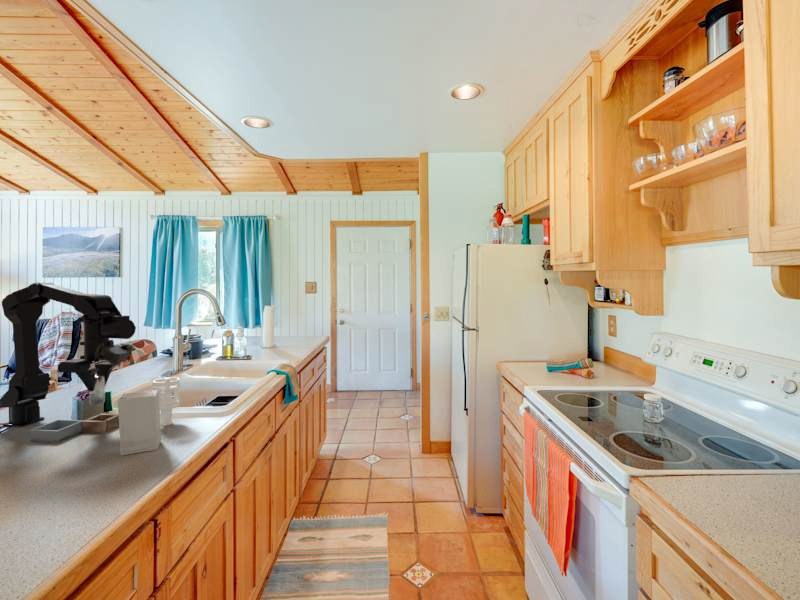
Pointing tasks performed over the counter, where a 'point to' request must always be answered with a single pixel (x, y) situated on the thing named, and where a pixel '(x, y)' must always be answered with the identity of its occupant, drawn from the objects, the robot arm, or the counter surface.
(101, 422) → the socket block
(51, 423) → the tray
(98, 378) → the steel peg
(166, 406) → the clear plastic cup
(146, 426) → the skincare box
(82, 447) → the counter surface
